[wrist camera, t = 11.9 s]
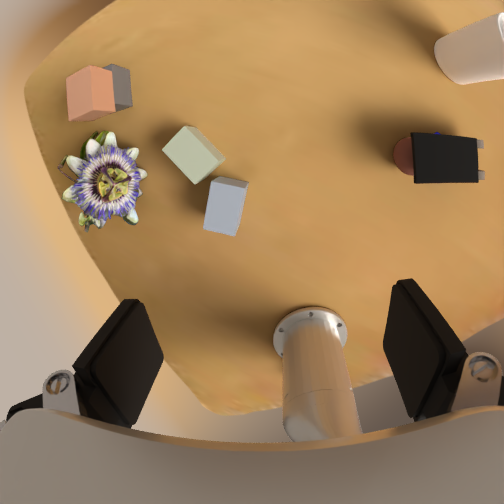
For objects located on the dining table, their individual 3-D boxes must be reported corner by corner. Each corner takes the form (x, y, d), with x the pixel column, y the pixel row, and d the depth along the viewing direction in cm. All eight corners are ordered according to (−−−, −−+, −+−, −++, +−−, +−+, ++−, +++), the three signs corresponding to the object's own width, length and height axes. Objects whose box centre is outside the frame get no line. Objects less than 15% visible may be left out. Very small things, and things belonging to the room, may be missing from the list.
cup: (454, 91, 27) (525, 84, 12) (424, 45, 24) (488, 16, 10) (479, 75, 24) (545, 67, 9) (452, 32, 22) (512, 8, 7)
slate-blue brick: (239, 224, 38) (234, 236, 33) (211, 217, 38) (202, 228, 33) (248, 182, 36) (244, 188, 31) (219, 175, 36) (211, 181, 31)
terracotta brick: (115, 111, 28) (93, 109, 23) (92, 120, 28) (68, 121, 24) (112, 71, 26) (90, 64, 21) (88, 81, 26) (66, 77, 22)
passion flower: (157, 168, 42) (156, 229, 34) (96, 192, 41) (83, 254, 34) (128, 104, 31) (110, 154, 24) (60, 138, 31) (30, 196, 23)
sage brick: (226, 158, 35) (218, 161, 30) (204, 178, 36) (194, 184, 31) (196, 127, 33) (184, 125, 29) (175, 148, 34) (161, 149, 30)
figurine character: (459, 133, 30) (384, 130, 31) (492, 137, 23) (416, 130, 24) (461, 175, 33) (388, 179, 33) (493, 184, 26) (419, 189, 26)
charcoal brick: (132, 106, 32) (114, 103, 27) (110, 113, 33) (91, 112, 28) (129, 70, 30) (112, 63, 25) (107, 78, 30) (88, 74, 26)
